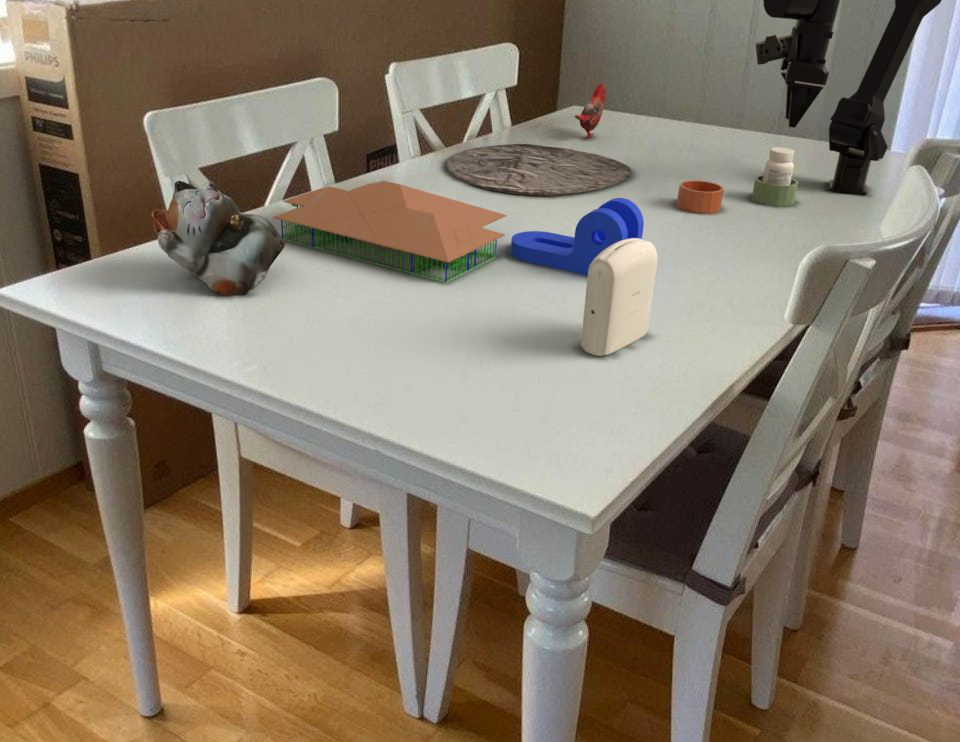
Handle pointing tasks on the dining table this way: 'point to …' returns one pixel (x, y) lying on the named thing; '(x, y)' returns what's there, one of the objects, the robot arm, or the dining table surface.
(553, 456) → the dining table surface
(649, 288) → the photo printer
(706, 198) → the terracotta cup
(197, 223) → the lucky cat figurine
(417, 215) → the house
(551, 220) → the dining table surface
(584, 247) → the bracket
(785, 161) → the pill bottle
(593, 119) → the decorative bird figurine
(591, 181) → the worn metal disc
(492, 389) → the dining table surface
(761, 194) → the green cup
